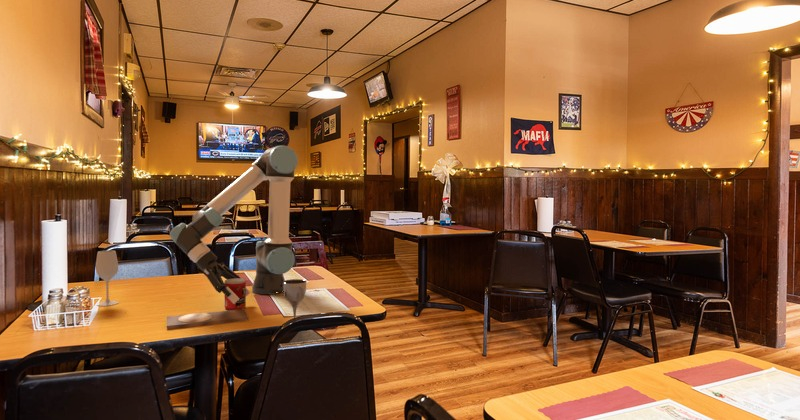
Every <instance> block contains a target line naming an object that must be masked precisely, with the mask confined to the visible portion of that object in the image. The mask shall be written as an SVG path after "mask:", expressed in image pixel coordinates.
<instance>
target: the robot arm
mask: <svg viewBox="0 0 800 420" xmlns="http://www.w3.org/2000/svg"><path fill="white" fill-rule="evenodd" d="M298 158H299V157H298V155H297V153H296V151H295V150H294V149H292V147H290V146H287V145H282V144H281V145H275V146H272V147H270V148H267V149H266V150H265V151H264V152H263V153H262V154H261V155H260V156H258V158H257V159H256V160H255V161H254V162H252V163H251V167H250V168H249V169H248V170H246V171H245V172H244V173H243V174H241V176H239V177H238V178H237V179H235V180H234V181H233V182H232V183H230V185H228V186H227V187H226V188H225V189H224V190H223V191H221V192H220V193H219V194H218V195H216V196H215V197H214V198H213V199H212V200H210V202H208V203H207V204H206V205H204V206H203V207H202V208H201V209H200V210H198V211H196V212H195V213H194V214H193V215H192V218H191V220H192V221H191V222H190V223H188V224H186V223H184V222H181V223H179V224H178V225H176V226H174V227H173V228H172V229H171V231H170V232H169V238H170V239H171V240H172V241H173V242H174V243H175V245H176V246H178V248H179V249H181V251H182V252H183V253H184V254H186V256H187V257H188V258H189V260H190V261H192V262H193V263H195V265H196V266H197V268H198V269H199V270H201V271H202V274H203V275H204V276H205V277H206V278H207V280H208V281H209V282H210V285H212V286H213V288H214V290H215V291H216V292H217V293H219V294H220V293H223V294H225V295H226V297H227V298H228V299H229V300H230V301H231V302H232V303H233V304H235V303H236V302H237V301H238V300H239V298H238V297H237V296H236V295H235V294H234V293H233V291H232V290H231V289H230V288H229V287H226V286H225V284H224V282H225V281H224V279H225V280H227V279H234V278H240V279H242V278H241V277H240V276H239V274H237V273H235V271H233V269H230V268H229V267H228V266H226V264H225V263H224V262H223V261H222V262H221V263H219V262H217V259H218V256H217V255H216V254H215V253H214V252H213V251H211V249H210V248H209V247H208V246H207V244H205V243H204V241H202V239H204V237H206V236H207V235H208V234H210V233H211V232H212V231H213V230H214V229H216V228H218V227H219V225H220V224H222V223H223V222H224V218H223V215H224V214H226V213H227V212H228V211H229V210H230V209H232V208H233V207H234V206H235V205H236V204H237V203H239V202H240V201H241V200H242V199H243V198H245V196H247V195H248V194H249V193H250V192H251V191H253V190H254V189H255V188H256V187H257V186H258V185H260V184H261V183H262V182H263V181H269V193H268V195H269V196H268V226H267V238H266V239H265V240H259V241H257V242H256V244H255V245H256V246H255V277H254V279H253V283H252V285H251V291H250V290H249V288H247V287H246V297H247V296H249V294H250V293H251V292H252V293H253V292H254V294H257V293H259V294H258V295H269V294H268V293H276V292H282V291H283V281H285V280H286V279H285V277H284V274H286V273H288V272H290V271H291V270H292V268H293V266H294V265H295V259H296V258H295V254H294V253H293V250H292V249H293V241H292V240H291V238H290V237H289V236H290V235H289V234H290V233H289V232H290V211H291V210H290V207H291V206H290V205H291V203H290V202H291V182H292V181H293V180H294V179H295V170H296V168H297V166H298V163H299V159H298ZM222 278H224V279H222ZM282 293H283V292H282Z"/></svg>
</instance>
